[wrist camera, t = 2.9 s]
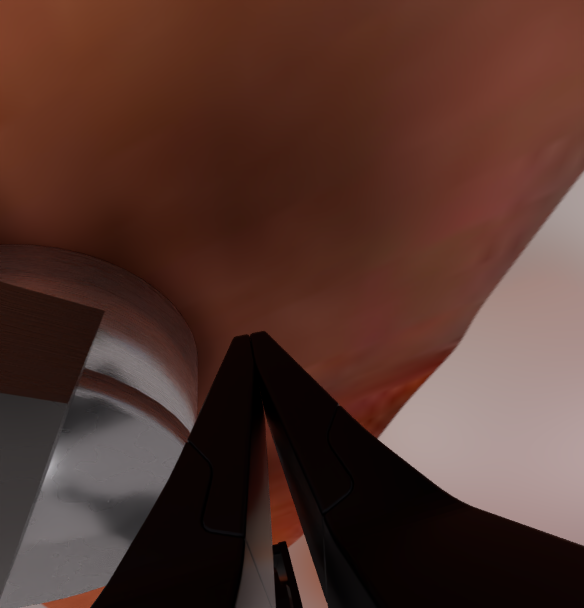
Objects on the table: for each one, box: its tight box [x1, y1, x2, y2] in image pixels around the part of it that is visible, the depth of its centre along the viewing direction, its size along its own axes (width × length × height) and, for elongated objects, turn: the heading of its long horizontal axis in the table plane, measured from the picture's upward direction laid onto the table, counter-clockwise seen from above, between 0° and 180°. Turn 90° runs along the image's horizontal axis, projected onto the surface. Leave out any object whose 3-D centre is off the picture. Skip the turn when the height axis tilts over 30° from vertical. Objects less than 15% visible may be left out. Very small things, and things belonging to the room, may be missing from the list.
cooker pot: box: [0, 245, 198, 432], centre depth 15 cm, size 20×15×7 cm
